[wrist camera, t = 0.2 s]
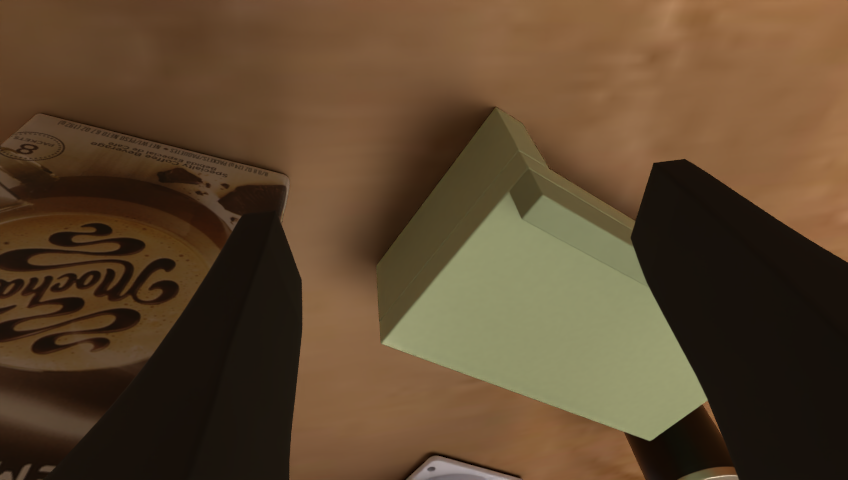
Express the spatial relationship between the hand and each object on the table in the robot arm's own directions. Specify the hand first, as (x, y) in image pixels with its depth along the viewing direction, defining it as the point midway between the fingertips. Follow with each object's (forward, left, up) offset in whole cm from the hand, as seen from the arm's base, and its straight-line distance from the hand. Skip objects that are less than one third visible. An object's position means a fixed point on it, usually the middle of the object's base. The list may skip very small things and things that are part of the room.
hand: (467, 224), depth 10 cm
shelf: (-5, -12, -11) cm, 16 cm away
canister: (-10, -24, -11) cm, 28 cm away
